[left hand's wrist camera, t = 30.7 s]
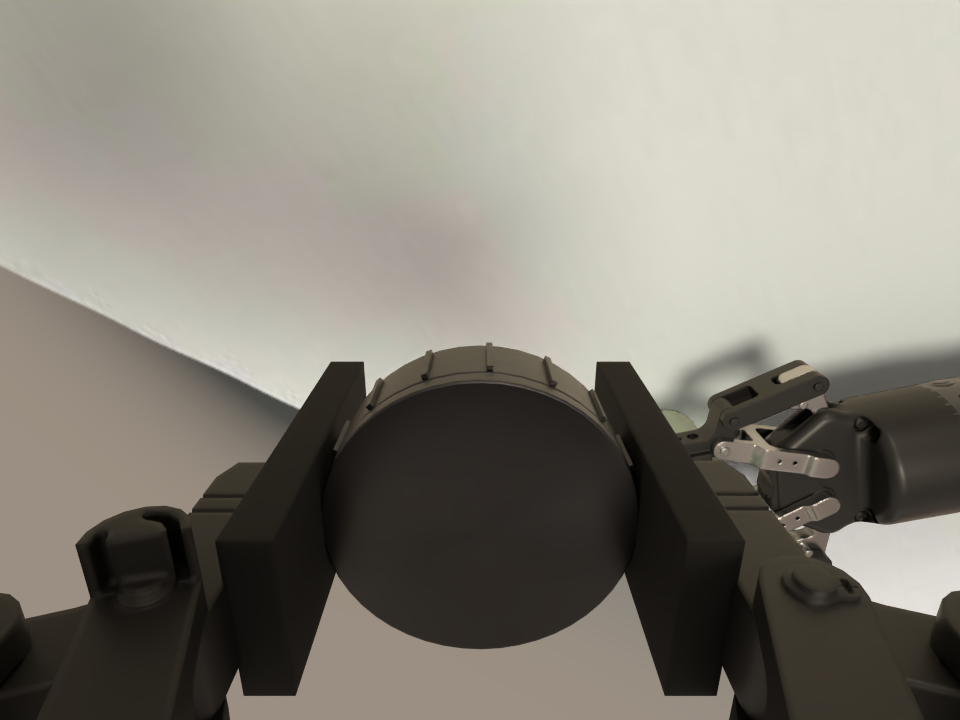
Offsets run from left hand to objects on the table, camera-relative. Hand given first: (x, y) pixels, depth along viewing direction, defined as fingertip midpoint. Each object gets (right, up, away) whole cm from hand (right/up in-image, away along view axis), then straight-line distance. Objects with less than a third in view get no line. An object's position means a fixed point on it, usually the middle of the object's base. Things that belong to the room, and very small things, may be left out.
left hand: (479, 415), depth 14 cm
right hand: (+10, -7, +22) cm, 26 cm away
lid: (0, -1, -4) cm, 4 cm away
